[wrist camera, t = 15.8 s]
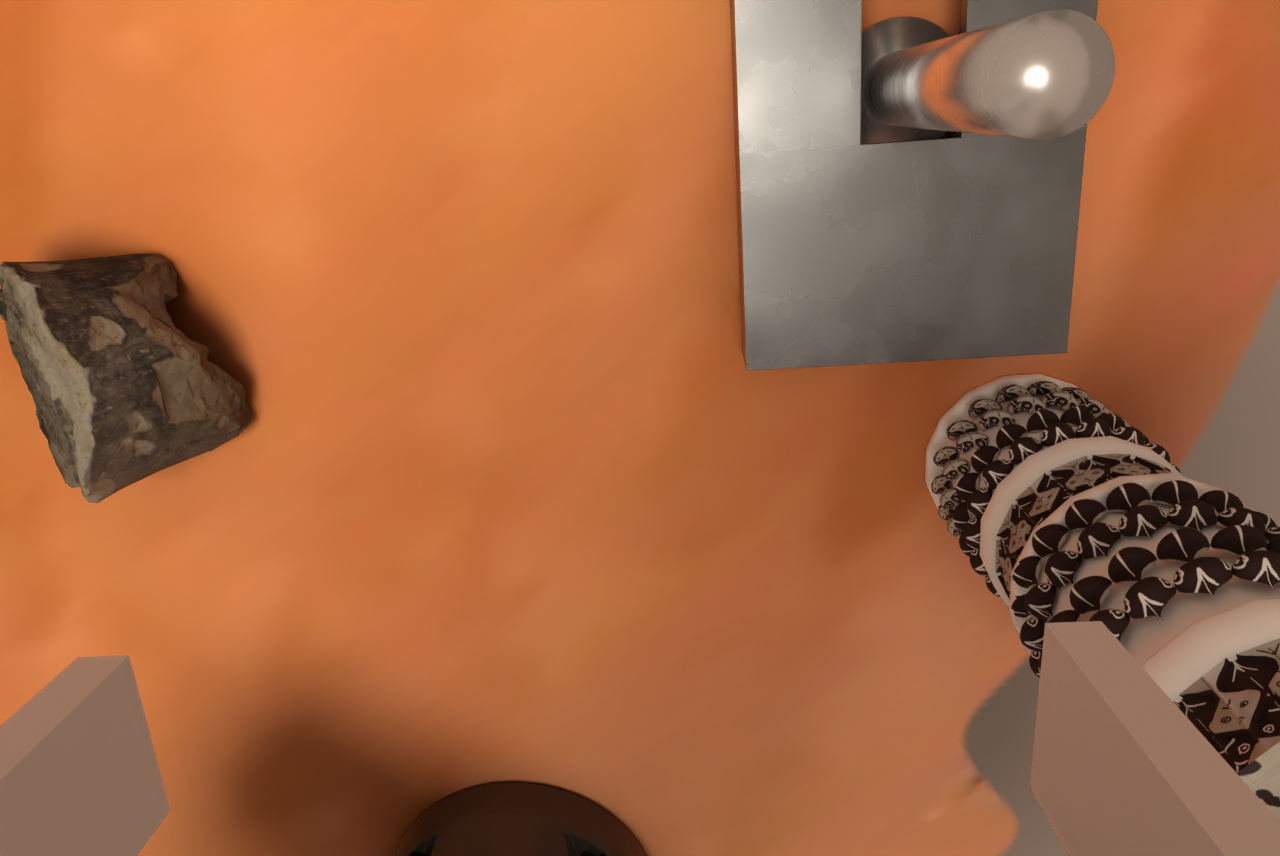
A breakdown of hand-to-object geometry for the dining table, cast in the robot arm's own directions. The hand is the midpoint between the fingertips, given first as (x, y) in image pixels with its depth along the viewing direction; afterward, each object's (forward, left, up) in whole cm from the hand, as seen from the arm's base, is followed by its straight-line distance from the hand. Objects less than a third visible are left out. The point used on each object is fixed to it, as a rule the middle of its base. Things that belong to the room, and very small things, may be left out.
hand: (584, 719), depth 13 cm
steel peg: (+8, -10, -29) cm, 32 cm away
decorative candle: (-8, -16, -29) cm, 34 cm away
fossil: (-1, +25, -29) cm, 38 cm away
